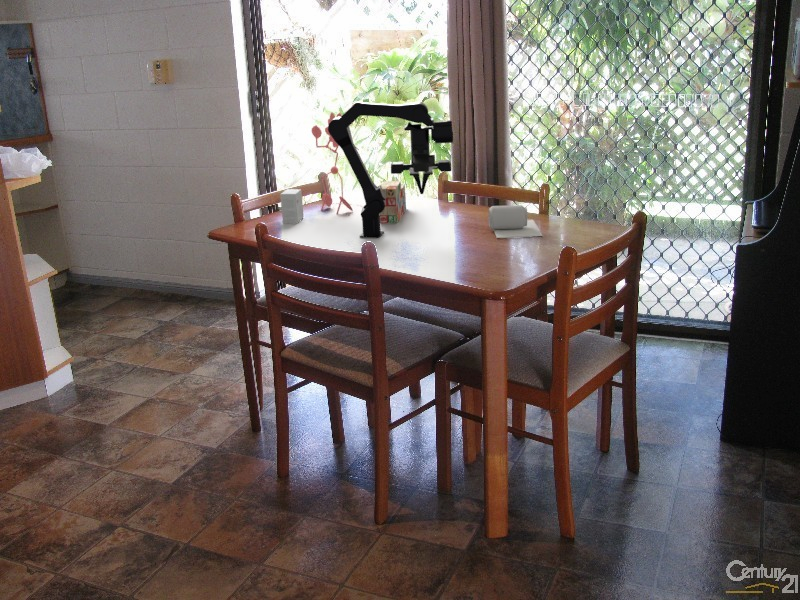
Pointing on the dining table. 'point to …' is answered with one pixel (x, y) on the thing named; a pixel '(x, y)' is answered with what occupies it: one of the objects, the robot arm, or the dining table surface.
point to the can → (507, 217)
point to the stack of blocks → (393, 201)
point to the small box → (291, 205)
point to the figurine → (334, 170)
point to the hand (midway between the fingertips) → (421, 193)
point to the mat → (519, 231)
